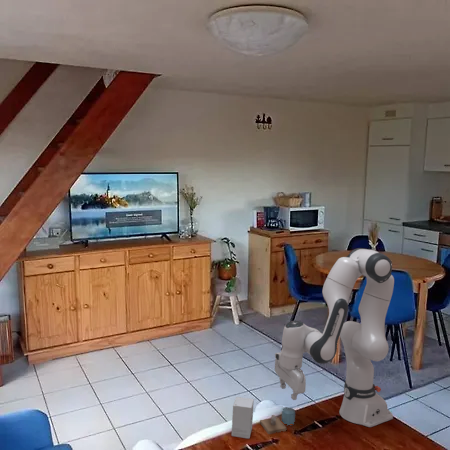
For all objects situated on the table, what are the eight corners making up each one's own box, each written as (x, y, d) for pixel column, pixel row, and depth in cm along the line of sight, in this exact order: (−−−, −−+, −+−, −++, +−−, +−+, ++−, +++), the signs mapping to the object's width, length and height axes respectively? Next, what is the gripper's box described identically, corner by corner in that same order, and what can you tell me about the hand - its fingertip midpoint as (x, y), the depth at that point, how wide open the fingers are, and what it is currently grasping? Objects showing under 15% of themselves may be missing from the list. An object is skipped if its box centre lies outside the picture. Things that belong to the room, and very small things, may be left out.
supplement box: (249, 439, 173) (251, 408, 171) (231, 436, 174) (232, 405, 172) (252, 428, 180) (254, 398, 178) (234, 425, 181) (235, 396, 180)
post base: (277, 420, 186) (278, 409, 186) (286, 430, 179) (287, 420, 178) (259, 423, 184) (260, 412, 183) (268, 434, 176) (268, 423, 176)
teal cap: (290, 417, 189) (291, 406, 188) (296, 424, 184) (297, 412, 183) (279, 419, 187) (280, 408, 186) (285, 426, 182) (286, 414, 182)
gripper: (311, 371, 173) (307, 405, 175) (286, 350, 192) (283, 381, 194) (296, 373, 171) (293, 407, 173) (273, 351, 190) (270, 382, 192)
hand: (288, 393), depth 184 cm, fingers open, 8 cm apart
